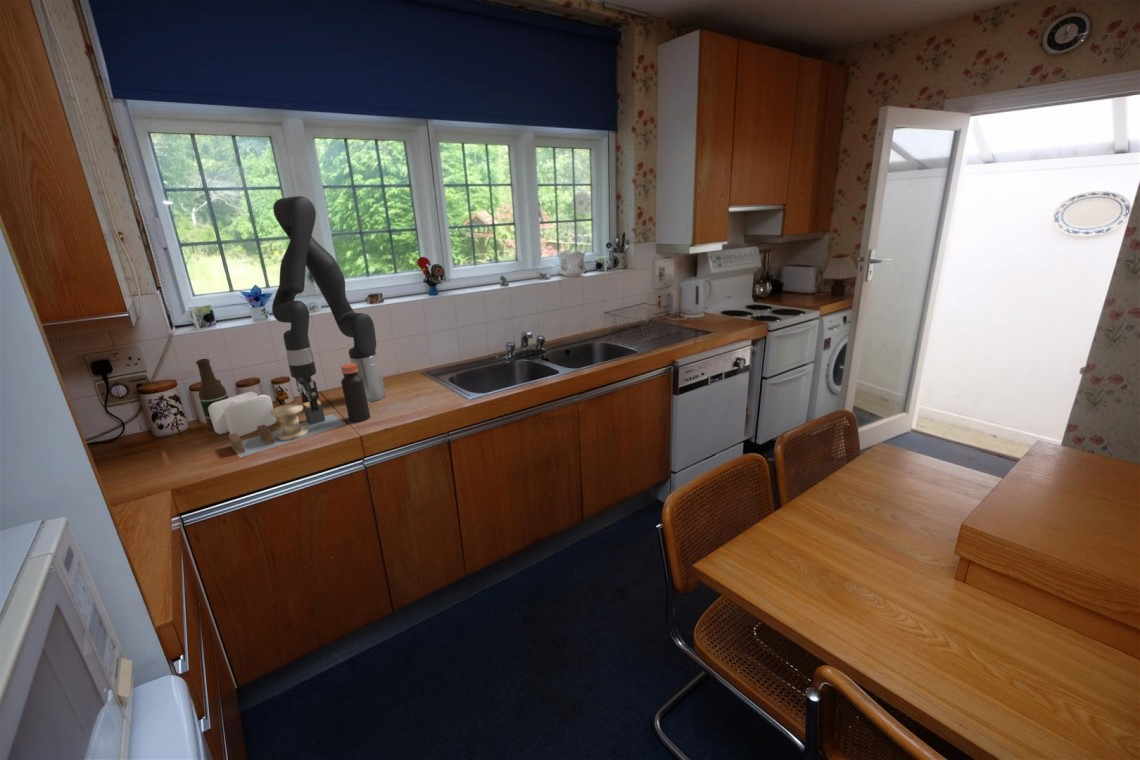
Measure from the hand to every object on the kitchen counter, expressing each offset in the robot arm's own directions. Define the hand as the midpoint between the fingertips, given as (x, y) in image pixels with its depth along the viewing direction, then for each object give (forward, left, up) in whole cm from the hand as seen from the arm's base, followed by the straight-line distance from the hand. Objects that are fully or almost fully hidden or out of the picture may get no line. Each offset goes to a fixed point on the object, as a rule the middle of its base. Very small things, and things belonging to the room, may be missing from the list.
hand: (311, 407), depth 167 cm
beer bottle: (+22, -25, -6) cm, 34 cm away
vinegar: (-12, +10, -6) cm, 17 cm away
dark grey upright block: (-1, 0, -5) cm, 5 cm away
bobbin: (+8, +6, -5) cm, 12 cm away
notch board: (+19, +4, -5) cm, 21 cm away
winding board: (+9, +5, -6) cm, 12 cm away
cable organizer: (+17, -13, -6) cm, 23 cm away
